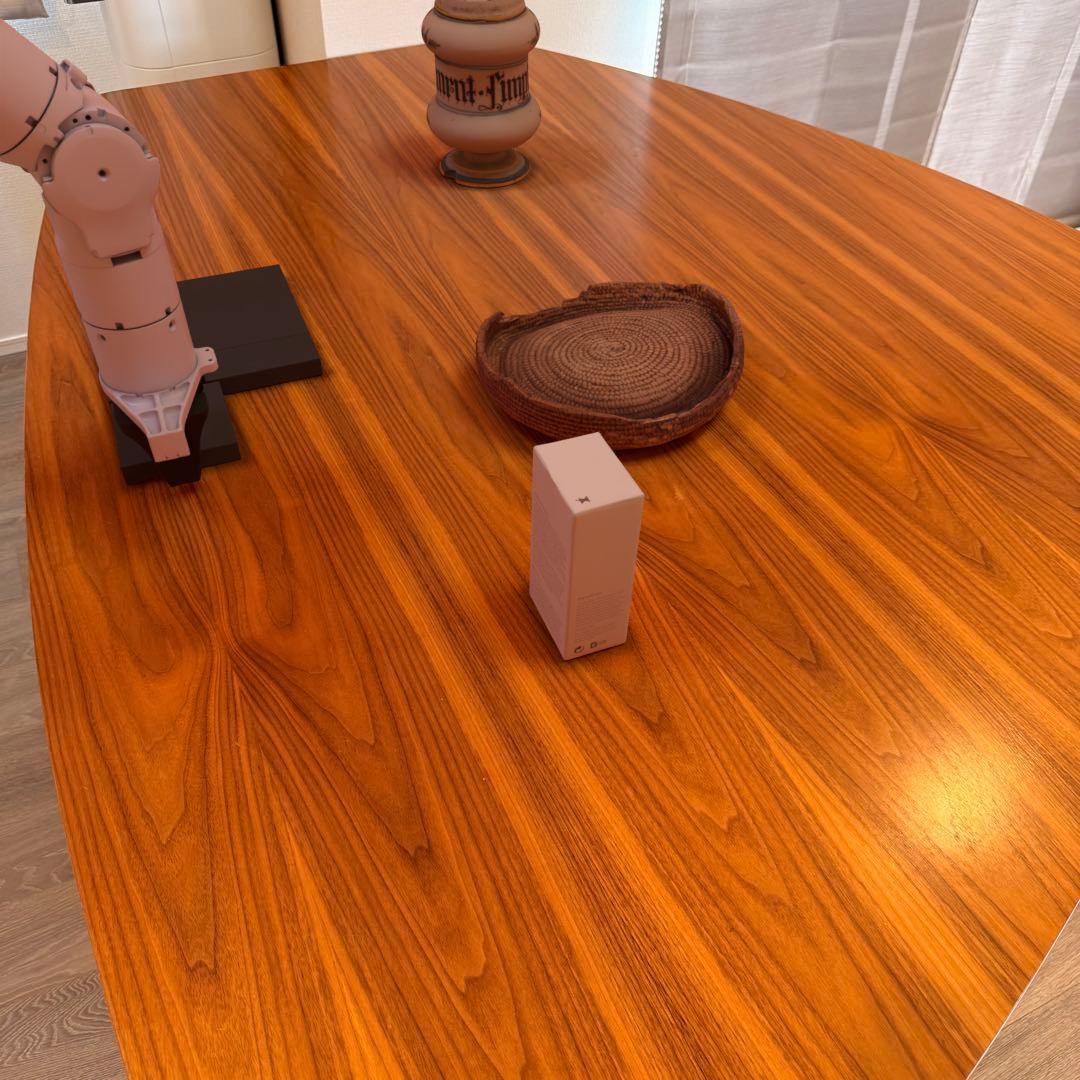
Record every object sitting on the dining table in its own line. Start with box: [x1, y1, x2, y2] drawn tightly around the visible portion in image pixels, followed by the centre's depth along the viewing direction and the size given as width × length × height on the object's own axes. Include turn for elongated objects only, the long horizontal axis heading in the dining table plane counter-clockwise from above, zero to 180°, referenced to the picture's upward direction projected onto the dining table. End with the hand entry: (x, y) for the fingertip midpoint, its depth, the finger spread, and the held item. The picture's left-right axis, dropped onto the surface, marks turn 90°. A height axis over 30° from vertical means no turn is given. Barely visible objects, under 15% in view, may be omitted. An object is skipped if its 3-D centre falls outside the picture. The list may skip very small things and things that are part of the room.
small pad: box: [109, 381, 242, 485], centre depth 72 cm, size 8×12×2 cm
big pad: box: [107, 263, 324, 405], centre depth 80 cm, size 16×16×2 cm
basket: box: [475, 280, 745, 451], centre depth 77 cm, size 22×20×5 cm
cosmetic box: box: [529, 432, 645, 661], centre depth 56 cm, size 6×4×12 cm
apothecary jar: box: [420, 0, 542, 189], centre depth 100 cm, size 12×12×18 cm
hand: (184, 478), depth 67 cm, fingers closed
